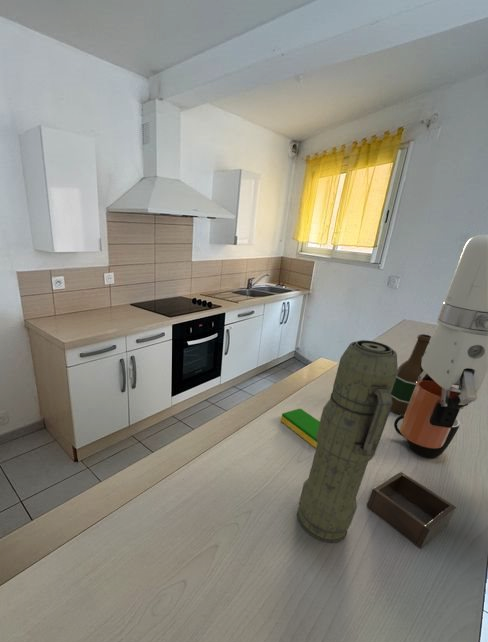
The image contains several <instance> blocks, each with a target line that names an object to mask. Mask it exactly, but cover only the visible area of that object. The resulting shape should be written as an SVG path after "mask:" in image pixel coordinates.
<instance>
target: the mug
mask: <svg viewBox="0 0 488 642" xmlns="http://www.w3.org/2000/svg"><path fill="white" fill-rule="evenodd" d="M404 415H405V414H404ZM404 415H399V416H397V417H396V418H395V420H394V422H393V427H394V430H395V431H396V433H397V434H398V435H400V436H401V437H403V438H404V439H406V438H405V437H404V436H403V435H402V434H401V432H400V428H398V424H399V421H400V420H403V418H404ZM460 425H461V422H460V420H459V419H458V418H457V417H456V419H455V422H454V424H453V426H452V427H451V429H450V432H449V434H448V436H447V438H446V441H445V443H444V444H443V446H442V447H440V448H427V447H423V446H420V445H417V444H415V443H413V442H411V441H409V440H408V439H406V443H407V446H408V448H409V449H410V450H411V451H412V452H413V453H415V454H416V455H419V456H421V457H424V458H427V459H436V458H438V457H440V456H441V455H442V454H443V453H444V452H445V451H446V450H447V448H448V447H449V445H450V444H451V442H452V441H453V439H454V437H455V436H456V435H457V432H458V430H459V428H460Z"/></svg>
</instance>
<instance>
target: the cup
mask: <svg viewBox="0 0 488 642" xmlns="http://www.w3.org/2000/svg"><path fill="white" fill-rule="evenodd" d="M451 388H455V387H454V386H452V385H451ZM441 394H442V387H440V386H439V385H438V384H437V383H436V382H435V381H430V380H420V381H418V382H417V383H416V386H415V388H414V391H413V394H412V396H411V399H410V402H409V404H408V407H407V410H406V413H405V415H404V418H402V421H401V422H400V423H401V424H400V427H399V430H400V432H401V434H402V435H403V436H404V437H405V438H404V437H403V436H402V437H403V438H404V439H406V440H407V439H408V440H409V441H411V442H413V443H415V444H417V445H420V446H423V447H427V448H440V447H442V446H443V444H444V443H445V441H446V438H447V436H448V434H449V432H450V429H451V428H447V427H441V426H434V425H431V423H430V419H431V417H432V414H433V412H434V409H435V407H436V404H437V403H441ZM454 396H457V393H456V392H450V393H449V398H452V397H454Z"/></svg>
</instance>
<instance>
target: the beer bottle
mask: <svg viewBox="0 0 488 642" xmlns="http://www.w3.org/2000/svg"><path fill="white" fill-rule="evenodd" d="M431 337H432V335H429V334H424V333H422V334H421V333H420V334H418V335H417V337H416V338H417V340H416V342H415V345H414V347H413V349H412V352H411V354H410V356H409V357H408V359H407V360H405V361H404V362H402V363H401V364H400V365H399V366H398V373H397V376H396V379H395V382H394V385H393V388H392V391H391V396H392V403H393V404H392V407H391V410H390V412H391V413H393V414H395V415H399V416H401V415H404V414H405V413H406V410H407V407H408V404H409V402H410V399H411V396H412V394H413V391H414V388H415V386H416V383H417V382H418V377H419V376H420V374H421V370H420V368H421V363H422V356H423V355H424V353H425V351H426V348H427V346H428V343H429V341H430V339H431Z"/></svg>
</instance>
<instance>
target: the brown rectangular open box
mask: <svg viewBox="0 0 488 642" xmlns="http://www.w3.org/2000/svg"><path fill="white" fill-rule="evenodd" d="M395 493H397V494H398V495H400V496H401V497H402V498H404V499H405V500H407V501H408V502H410V503H411V504H413V505H414V506H416V507H417V508H419V509H420V510H421V511H423V512H424V513H426V514H427V515H429V516H430V517H432V518H433V519H431V520H430V521H429V522H427V523H426V522H424V521H422V520H421V519H420V518H418V517H417V516H415V515H414V514H413V513H411V512H410V511H408V510H407V509H406V508H404V506H401V505H400V503H397V502H396V501H395V500H393V499H392V498H390V496H392V495H393V494H395ZM366 507H367V508H368V509H370V511H372V512H373V513H375V514H376V515H377V516H378V517H380V518H381V519H383V520H384V521H385V522H386V523H388V524H389V525H390V526H391V527H393V528H394V529H395V530H396V531H398V532H399V533H400V534H402V535H403V536H404V537H405V538H407V539H408V540H409V541H410V542H412V543H413V544H415V545H416V546H417V547H418V548H419V549H422V548H423V547H424V546H426V544H428V543H429V542H430V541H431V540H432V539H433V538H435V537H436V535H438V534H439V533H440V532H441V531H442V530H443V529H445V528H446V527H447V526H448V525H449V523H450V522H451V519H452V518H453V515H454V513H455V511H456V509H457V506H455V505H454V504H452V503H451V502H449V501H448V500H446V499H445V498H443V497H442V496H440V495H438V494H437V493H436V492H433V491H432V490H430V489H429V488H427V487H425V486H424V485H423V484H421V483H419V482H418V481H416V480H414V479H413V478H411V477H410V476H408V475H407V474H405V473H404V472H402V471H399V472H398V473H396V474H395V475H393V476H391V477H390V478H388V479H387V480H386V479H385V481H383V482H381V483H380V484H378V485H377V486H375V487H373V488H372V489H371V492H370V495H369V498H368V500H367V503H366Z"/></svg>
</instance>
